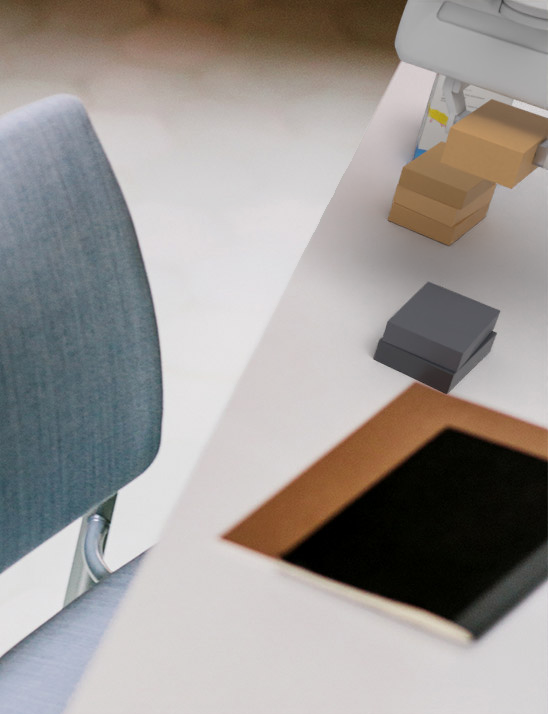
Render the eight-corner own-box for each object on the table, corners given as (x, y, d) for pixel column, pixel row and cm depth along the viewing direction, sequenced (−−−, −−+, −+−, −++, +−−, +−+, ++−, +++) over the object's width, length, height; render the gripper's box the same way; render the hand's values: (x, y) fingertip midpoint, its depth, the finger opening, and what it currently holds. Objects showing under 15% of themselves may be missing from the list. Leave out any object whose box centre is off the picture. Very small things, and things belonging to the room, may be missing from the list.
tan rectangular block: (549, 157, 96) (562, 122, 94) (511, 189, 91) (523, 152, 89) (480, 133, 98) (491, 98, 96) (439, 162, 93) (450, 126, 91)
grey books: (491, 350, 105) (505, 312, 102) (447, 394, 99) (461, 355, 97) (417, 317, 108) (430, 279, 106) (370, 357, 102) (382, 318, 100)
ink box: (486, 186, 131) (521, 83, 124) (409, 169, 132) (439, 67, 125) (489, 155, 137) (522, 56, 130) (416, 139, 139) (445, 40, 131)
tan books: (486, 217, 125) (504, 164, 121) (449, 247, 119) (467, 192, 115) (424, 192, 128) (440, 140, 124) (385, 220, 122) (400, 166, 118)
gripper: (715, 1, 83) (640, 182, 92) (447, -74, 92) (401, 98, 100) (689, 22, 79) (613, 209, 87) (411, -59, 87) (367, 119, 96)
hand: (498, 149), depth 94 cm, fingers closed on tan rectangular block, 6 cm apart
